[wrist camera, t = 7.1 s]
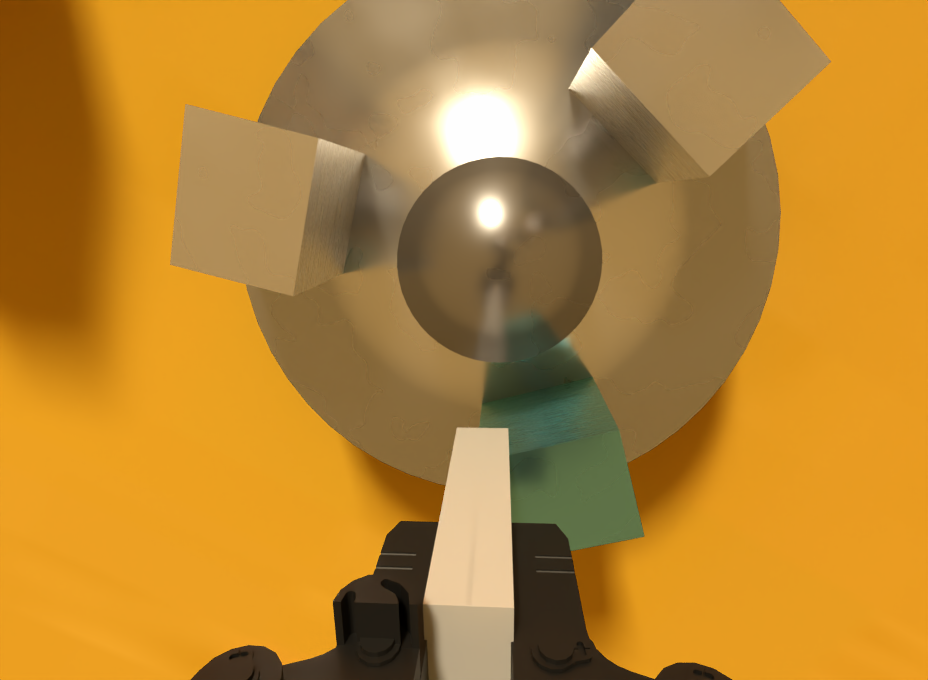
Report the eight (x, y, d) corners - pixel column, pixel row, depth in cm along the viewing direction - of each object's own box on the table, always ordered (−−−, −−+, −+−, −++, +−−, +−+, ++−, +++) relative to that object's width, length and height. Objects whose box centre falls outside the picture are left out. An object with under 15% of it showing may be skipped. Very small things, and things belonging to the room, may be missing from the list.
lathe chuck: (194, 74, 17) (35, 8, 11) (701, -110, 15) (827, -308, 9) (355, 503, 21) (296, 621, 15) (782, 407, 18) (909, 502, 13)
